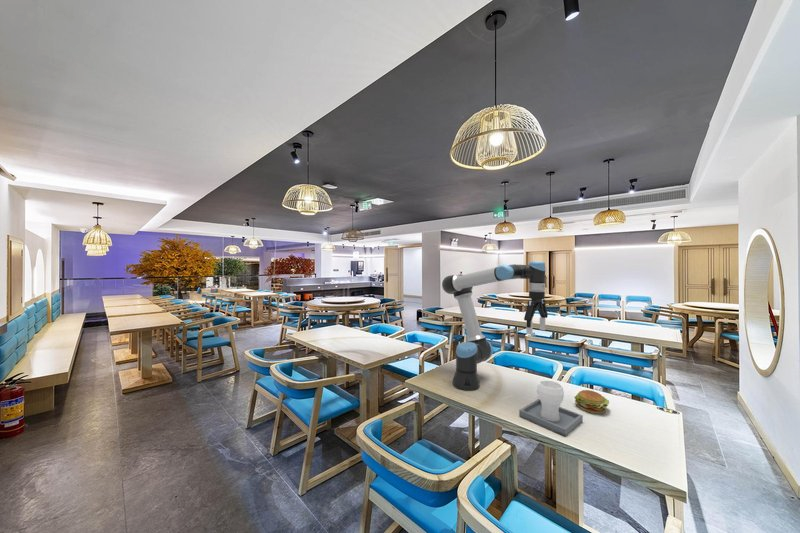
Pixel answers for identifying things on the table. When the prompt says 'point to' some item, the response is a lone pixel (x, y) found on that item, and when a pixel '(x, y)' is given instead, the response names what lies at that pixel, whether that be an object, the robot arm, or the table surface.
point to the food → (591, 401)
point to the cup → (550, 399)
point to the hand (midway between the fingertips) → (535, 331)
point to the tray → (561, 427)
